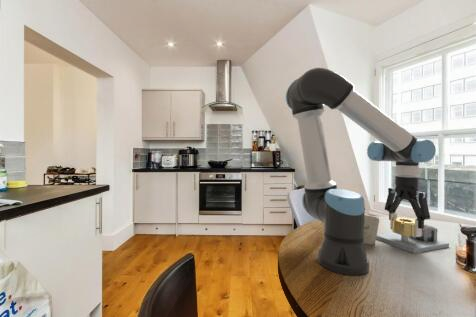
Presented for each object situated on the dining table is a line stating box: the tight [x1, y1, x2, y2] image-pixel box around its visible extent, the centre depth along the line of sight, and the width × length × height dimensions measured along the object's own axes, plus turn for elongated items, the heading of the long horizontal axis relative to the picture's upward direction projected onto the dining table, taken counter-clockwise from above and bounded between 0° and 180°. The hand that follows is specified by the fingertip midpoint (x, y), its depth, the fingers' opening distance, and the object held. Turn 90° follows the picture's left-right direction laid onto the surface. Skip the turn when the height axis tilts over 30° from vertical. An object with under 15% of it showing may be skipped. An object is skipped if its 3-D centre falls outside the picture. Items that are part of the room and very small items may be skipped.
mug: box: [363, 215, 380, 246], centre depth 98 cm, size 8×13×10 cm, turn 78°
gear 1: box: [390, 217, 415, 237], centre depth 96 cm, size 9×9×5 cm
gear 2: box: [409, 223, 438, 242], centre depth 99 cm, size 9×9×6 cm
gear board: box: [376, 232, 450, 254], centre depth 98 cm, size 20×16×7 cm
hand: (405, 232), depth 96 cm, fingers closed on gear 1, 9 cm apart
